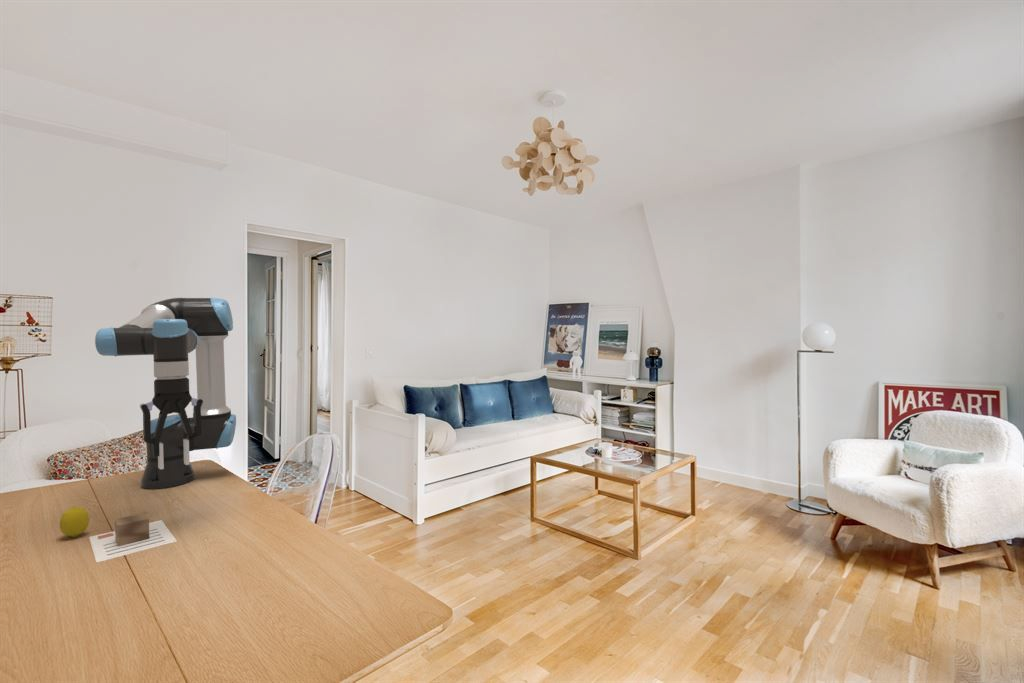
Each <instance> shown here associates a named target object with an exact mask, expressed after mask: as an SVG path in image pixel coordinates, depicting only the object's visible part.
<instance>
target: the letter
mask: <svg viewBox="0 0 1024 683" xmlns="http://www.w3.org/2000/svg"><path fill="white" fill-rule="evenodd" d="M89 542H90V546H91V548H92V551H93V555H94V558H95V559H94V560H95V561H96V563H100V562H104V561H108V560H112V559H115V558H119V557H123V556H127V555H130V554H134V553H138V552H142V551H146V550H149V549H153V548H157V547H160V546H164V545H168V544H172V543H176V542H177V539H176V537H175V536H174V535H173V534H172V533H171V531H170V530H169V528H168V527H167V525H166V524H165V522H164V521H163V520H162V519H160V520H156V521H151V522H149V539H146V540H142V541H138V542H134V543H130V544H126V545H122V546H118V544H117V542H116V539H115V530H113V531H109V532H106V533H101V534H96V535H93V536H92V535H91V536H89Z"/></svg>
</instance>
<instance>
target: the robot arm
mask: <svg viewBox="0 0 1024 683" xmlns="http://www.w3.org/2000/svg"><path fill="white" fill-rule="evenodd" d="M231 310H232V309H231V308H230V305H229V302H228V301H227V300H226V299H224V298H216V297H215V298H214V297H174V298H173V297H172V298H168V299H167V298H166V299H164V300H160V301H158V302H157V301H156V302H155V303H151V304H150V305H147V306H146V307H145V308H143V309H142V311H141V312H140V314H139V315H138V316H136V317H135V318H133V319H131V320H128V321H127V322H126V323H124V324H123V325H121V326H120V327H112V326H110V327H102V328H100V329H98V330H97V331H96V334H95V338H94V343H95V350H96V351H97V353H98V354H100V355H101V356H106V357H107V356H108V357H110V356H111V357H112V356H113V357H119V356H120V357H122V356H151V355H152V356H153V377H154V378H156V379H154V380H153V389H154V391H153V392H154V394H153V397H152V399H151V401H149V402H145V403H140V405H139V408H140V410H141V411H142V432H143V433H142V436H143V438H142V439H143V441H144V443H145V444H146V466H145V468H144V471H143V474H142V477H141V479H140V480H141V481H140V484H141V485H140V486H141V488H142V489H146V490H147V489H148V490H153V489H154V490H155V489H157V490H158V489H166V488H171V487H177V486H181V485H183V484H184V485H185V484H187V483H189V482H191V481H194V479H195V471H194V468H193V466H192V465H191V462H190V452H192V451H193V452H194V451H200V450H210V449H216V450H217V449H220V448H221V449H222V448H227V447H230V446H231V445H232V443H233V442H234V438H235V433H236V426H237V415H236V414H234V413H232V410H231V408H230V407H228V406H227V402H226V376H225V375H226V373H225V370H226V369H225V348H224V341H225V339H226V338H228V337H229V332H231V331H233V329H234V321H233V315H232V311H231ZM194 350H195V369H196V370H195V371H196V394H197V396H196V397H197V398H195V397H192V396H191V393H190V379H189V378H188V376H189V375H190V368H189V367H190V365H189V364H190V362H189V354H190V353H192V352H193V351H194ZM190 403H191V406H192V407H193V409H192V417H188V414H187V412H186V409H187V407H188V406H189V404H190ZM153 406H155V407H156V409H157V410H158V411H159V413H158V418H153V419H152V420H151V411H152V410H153ZM173 413H174V414H173ZM170 414H172V415H170Z"/></svg>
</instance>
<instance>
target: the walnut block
mask: <svg viewBox="0 0 1024 683" xmlns="http://www.w3.org/2000/svg"><path fill="white" fill-rule="evenodd" d="M149 523H150V518H149V517H148V515H147V514H146V512H142V513H138V514H133V515H129V516H124V517H119V518H115V519H114V531H115V539H116V542H117V544H118V546H122V545H126V544H130V543H134V542H138V541H142V540H146V539H149Z"/></svg>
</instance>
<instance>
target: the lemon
mask: <svg viewBox="0 0 1024 683" xmlns="http://www.w3.org/2000/svg"><path fill="white" fill-rule="evenodd" d="M89 515H90V514H89V513H88V510H86V509H85V508H83V507H81V506H80V507H79V506H76V505H73V506H72V507H70V508H69V509H67V510H66V511H65V512H63V514H62V515H61V517H60V520H59V529H60V532H61V533H62V534H63V535H65V536H66V537H67V536H68V537H72V538H77V537H78V536H79V535H80V534H82V533H84V532H85V531H86V530H87V528H89V524H90V516H89Z"/></svg>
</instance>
